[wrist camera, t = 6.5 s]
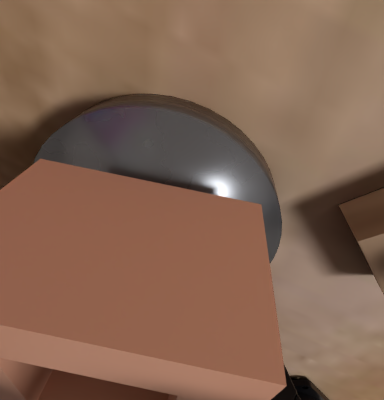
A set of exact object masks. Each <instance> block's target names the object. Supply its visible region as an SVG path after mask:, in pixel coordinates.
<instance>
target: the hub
mask: <svg viewBox="0 0 384 400" xmlns="http://www.w3.org/2000/svg"><path fill="white" fill-rule="evenodd" d="M39 159H45V160H49V161H54V162H59V163H64V164H69V165H74V166H78V167H83V168H88V169H93V170H98V171H102V172H107V173H112V174H117V175H122V176H127V177H131V178H136V179H141V180H146V181H151V182H156V183H160V184H165V185H170V186H175V187H180V188H184V189H189V190H194V191H199V192H204V193H209V194H213V195H218V196H223V197H228V198H233V199H238V200H242V201H247V202H252V203H257V204H261V205H262V212H263V220H264V227H265V234H266V241H267V248H268V255H269V263H271V261H272V260H273V258H274V256H275V254H276V251H277V249H278V247H279V243H280V238H281V231H282V219H281V212H280V206H279V202H278V197H277V193H276V189H275V184H274V181H273V178H272V175H271V172H270V169H269V167H268V165H267V163H266V161H265V159H264V157H263V156H262V154H261V153H260V152H259V150H258V149H257V147H256V146H255V145H254V143H253V142H252V141H251V140H250V139H249V138H248V137H247V136H246V135H245V134H244V133H243V132H242V131H241V130H240V129H239V128H237V127H236V126H235V125H233V124H232V123H231V122H230V121H228V120H227V119H226V118H224V117H222V116H220V115H219V114H217V113H215V112H214V111H212V110H210V109H208V108H205V107H203V106H201V105H198V104H196V103H193V102H191V101H187V100H183V99H180V98H176V97H172V96H164V95H156V94H133V95H127V96H121V97H116V98H112V99H109V100H106V101H103V102H100V103H98V104H96V105H94V106H92V107H91V108H89V109H87V110H85V111H84V112H82V113H81V114H79V115H78V116H77V117H75V118H74V119H72V120H71V121H69V122H68V123H67V124H65V125H64V126H62V127H61V128H60V129H59V130H57V131H56V132H55V133H53V134H52V135H51V136H50V137H49V138H48V140H47V141H46V142H45V143H44V144H43V145H42V147H41V148H40V150H39V152H38V154H37V155H36V157H35V160H34V163H35V162H37V161H38V160H39ZM34 163H33V164H34Z"/></svg>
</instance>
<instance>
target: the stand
mask: <svg viewBox="0 0 384 400" xmlns="http://www.w3.org/2000/svg"><path fill="white" fill-rule="evenodd" d="M339 207H340V209H341V211H342V213H343V215H344V217H345V219H346V221H347V223H348V225H349V227H350V229H351V231H352V233H353V235H354V237H355V239H356V241H357V243H358V245H359V247H360V249H361V251H362V253H363V255H364V257H365V259H366V261H367V263H368V265H369V267H370V269H371V271H372V273H373V275H374V277H375V279H376V281H377V283H378V284H379V286H380V288H381V290H382V292H383V294H384V188H382V189H380V190H377V191H374V192H372V193H369V194H366V195H364V196H361V197H359V198H356V199H353V200H351V201H348V202H345V203H343V204H340V205H339Z"/></svg>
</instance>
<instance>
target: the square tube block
mask: <svg viewBox="0 0 384 400" xmlns="http://www.w3.org/2000/svg"><path fill="white" fill-rule="evenodd" d="M286 386H287V385H286V377H285V370H284V363H283V356H282V349H281V342H280V334H279V327H278V320H277V313H276V306H275V298H274V291H273V284H272V277H271V270H270V263H269V255H268V248H267V241H266V234H265V227H264V220H263V212H262V205H261V204H257V203H252V202H247V201H242V200H238V199H233V198H228V197H223V196H218V195H213V194H209V193H204V192H199V191H194V190H189V189H184V188H180V187H175V186H170V185H165V184H160V183H156V182H151V181H146V180H141V179H136V178H131V177H127V176H122V175H117V174H112V173H107V172H102V171H98V170H93V169H88V168H83V167H78V166H74V165H69V164H64V163H59V162H54V161H49V160H45V159H39V160H38V161H37V162H35V163H34V164H33V165H32V166H30V167H29V168H28V169H26V170H25V171H24V172H23V173H21V174H20V175H19V176H17V177H16V178H15V179H14V180H12V181H11V182H10V183H8V184H7V185H6V186H5V187H3V188H2V189H1V190H0V400H271V399H272V398H273V397H275V396H276V395H277V394H278V393H279V392H280V391H281V390H283V389H284V388H285V387H286Z"/></svg>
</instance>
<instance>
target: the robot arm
mask: <svg viewBox="0 0 384 400" xmlns="http://www.w3.org/2000/svg"><path fill="white" fill-rule="evenodd" d="M284 370H285V377H286V385H287V386H286V387H285V388H284V389H283V390H281V391H280V392H279V393H278V394H277V395H276V396H275V397H273V398H272V399H271V400H329V399H328V398H327V397H326V396H325V395H324V394H323V393H322V392H321V391H320V390H319V389H318V388H317V387H316V386H315V385H314V384H313V383H312V382H311V381H309V380H306V379H300V380H291V378H290V376H289V374H288V372H287V370H286V367H285V365H284Z"/></svg>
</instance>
